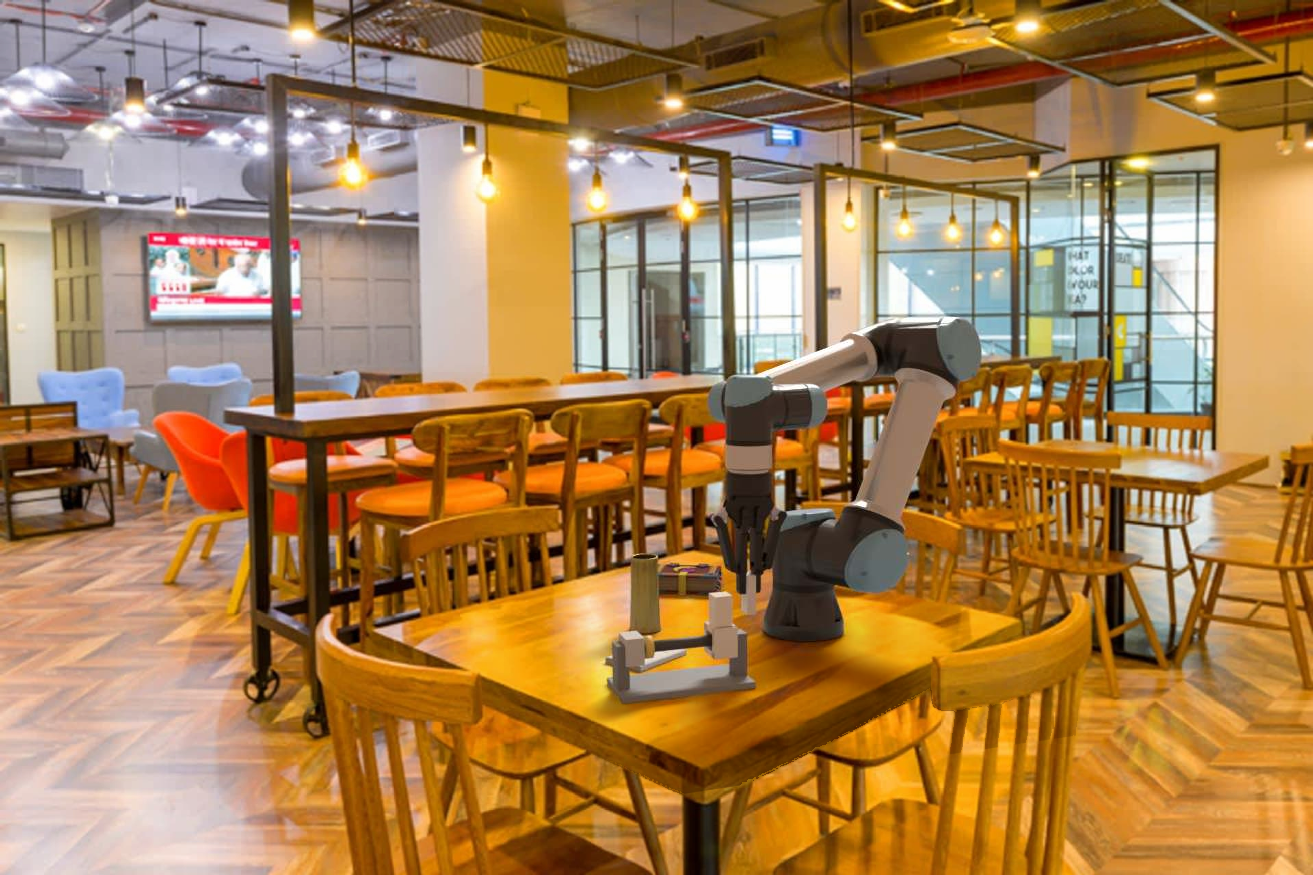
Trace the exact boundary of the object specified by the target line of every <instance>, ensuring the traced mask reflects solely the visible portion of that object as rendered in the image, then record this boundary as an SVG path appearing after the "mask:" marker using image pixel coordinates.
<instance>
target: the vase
mask: <svg viewBox="0 0 1313 875" xmlns="http://www.w3.org/2000/svg"><path fill="white" fill-rule="evenodd" d="M658 564H659V556H658V555H657V554H653V553H636V554H632V555H631V556H630V603H629V604H630V611H629V617H630V618H629V631H637V632H638V633H639V634H641V635H643V634H654V633H657V632H659V631H661V630H662V625H661V610H660V594H659V578H658Z"/></svg>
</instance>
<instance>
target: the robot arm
mask: <svg viewBox="0 0 1313 875" xmlns="http://www.w3.org/2000/svg"><path fill="white" fill-rule="evenodd" d="M982 354H983V351H982V343H981V340H980V336H979V334H978V331H977V329H976V328H975V326H974V325H973V324H972V323H971V322H970V321H968V320H967V319H966V318H963V317H959V316H957V317H956V316H955V317H954V316H948V315H942V316H941V317H940V316H939V317H938V316H937V317H935V316H933V317H931V316H929V317H928V316H927V317H924V316H921V317H919V316H918V317H917V316H915V317H914V316H913V317H908V316H903V317H902V316H900V317H894V318H890V319H885V320H882V321H879V322H876V323H874V324H870V325H868V326H865V327H863V328H861V329H858V330H856V331H853V332H850V333H848V334H845V335H844V336H843V337H842V338H841V340H840V341H839V343H837V344H833V345H831V346H829V347H826V348H822V349H821V350H818V351H815V352H813V353H809V354H808V355H805V356H803V357H799V358H797V359H794V360H792V361H789V362H786V363H783V364H781V365H778V366H776V367H773V368H770V369H768V370H764V371H763V372H760V373H757V374H735V375H734V374H733V375H731V376H729V377H728V378H727V380H724V381H718V382H716V383H714V385H713V386H712V387H711V389H710V390H709V392H708V393H707V394H708V396H707V398H706V399H707V401H706V402H707V409H708V412H709V414H710V417H712V419H714V420H715V421H717V422H720V423H724V424H725V428H724V429H725V430H724V432H725V445H724V446H725V468H726V469H727V471H726V473H725V477H724V478H725V480H724V481H725V489H724V490H725V498H724V499H725V500H724V501H723V504H722V508H721V509H720V510H718V512H716V513H711V514H710V515H709V519H710V521H711V523H712V525H713V526H714V527H715V530H716V535H717V538H718V544H719V547H720V551H721V555H722V556H721V557H722V561H723V564H724V568H725V569H726V570H728V571H729V572H731V573H734V574H735V583H736V585H735V587H736V588H735V590H736V593H738V594H739V595H740V596H741V599H740V602H741V604H740V607H741V608H740V610H741V612H742V613H743V614H745V615H747V616H754V615H756V614H757V594H760V593H761V590H762V576H763V575H764V573H765V571H768V570H769V571H770V570H771V569H772V573H771V574H772V589H771V590H772V591H771V594H770V597H769V600H768V603H767V605H766V609H765V612H764V615H763V620H762V622H763V624H762V626H763V627H762V628H763V629H762V630H763V632H765V634H767V635H769V636H771V637H773V638H777V639H782V640H787V641H794V642H818V641H819V642H820V641H826V640H832V639H835V638H838V637H840V636H842V635H843V633H844V632H845V630H844V628H845V626H844V624H845V623H844V617H843V614H842V611H841V608H840V604H839V601H838V598H837V594H836V591H835V589H836V588H835V586H838V587H842V588H845V589H846V588H847V589H850V590H853V591H855V592H858V593H869V594H882V593H885V592H886V591H888V590H891V589H892V588H893V587H895V586H896V585H897V584H899V582H900V581H901V579H902V578H903V577H904V574H905V572H906V570H907V568H908V564H909V561H910V553H909V552H908V551H909V550H910V546H909V542H908V540H907V538H906V536H904V535H905V532H906V527H905V524H904V523H903V520H902V518H901V517H902V515H903V512H904V509H905V507H906V504H907V502H908V499H909V496H910V494H911V491H912V488H913V485H914V482H915V479H916V476H917V474H918V471H919V469H920V466H921V464H922V460H923V459H924V456H925V452H926V450H927V447H928V444H929V442H930V439H931V437H932V433H933V431H934V428H935V425H936V422H937V421H938V418H939V415H940V412H941V409H942V407H943V405H944V402H945V401H947V400H950V399H952V398H954V397H955V395H956V394H957V390H958V387H959V384H960V383H961V382H962V383H963V382H967V381H970V380H972V379H973V378H975V377H976V376H977V374H978V372H979V370H980V367H981V365H982V359H983V358H982V357H983V356H982ZM876 378H895V380H896V382H897V384H898V387H897V390H896V393H895V395H894V398H893V401H892V404H891V406H890V408H889V411H888V414H887V417H886V419H885V421H884V424H883V427H882V430H881V432H880V435H879V437H878V440H877V443H876V445H875V447H874V451H873V453H872V456H871V458H870V461H869V464H868V467H867V468H866V471H865V474H864V477H863V478H862V479H863V480H862V482H861V485H860V487H859V490H858V493H857V495H856V498H855V500H853V501H852V502H849V503H847V504H845V505H844V506H843V507H842V511H841V513H840V516H839V518H838V519H837V515H836V513H835V511H834V509H832V508H806V509H797V510H789V511H784V510H782V509H779V507H777V506H775V502H774V500H773V498H772V494H773V493H772V492H773V473H772V472H771V471H770V469H772V467H773V453H772V452H773V433H774V432H777V431H793V430H794V431H795V430H803V431H804V430H807V429H811V428H816V427H818V426H819V425H821V424H822V423H823V422H824V421H825V419H826V417H827V416H828V408H829V407H828V398H827V396H826V394H825V392H828V391H830V390H832V389H835V388H838V387H840V386H843V385H845V384H848V383H850V382H852V381H856V382H865V381H869V380H871V379H876ZM768 517H769V521H768V525H767V530H766V533H765V537H764V542H763V533H764V524H765V523H766V520H767V519H768ZM728 518H729V519H730V521H731V523H732V524H733V531H734V549H733V544H732V541H731V540H732V539H731V536H730V531H729V529H728V526H727V523H728ZM748 534H749V535H748ZM748 536H749V543H748ZM748 544H749V570H750V571H748Z"/></svg>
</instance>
